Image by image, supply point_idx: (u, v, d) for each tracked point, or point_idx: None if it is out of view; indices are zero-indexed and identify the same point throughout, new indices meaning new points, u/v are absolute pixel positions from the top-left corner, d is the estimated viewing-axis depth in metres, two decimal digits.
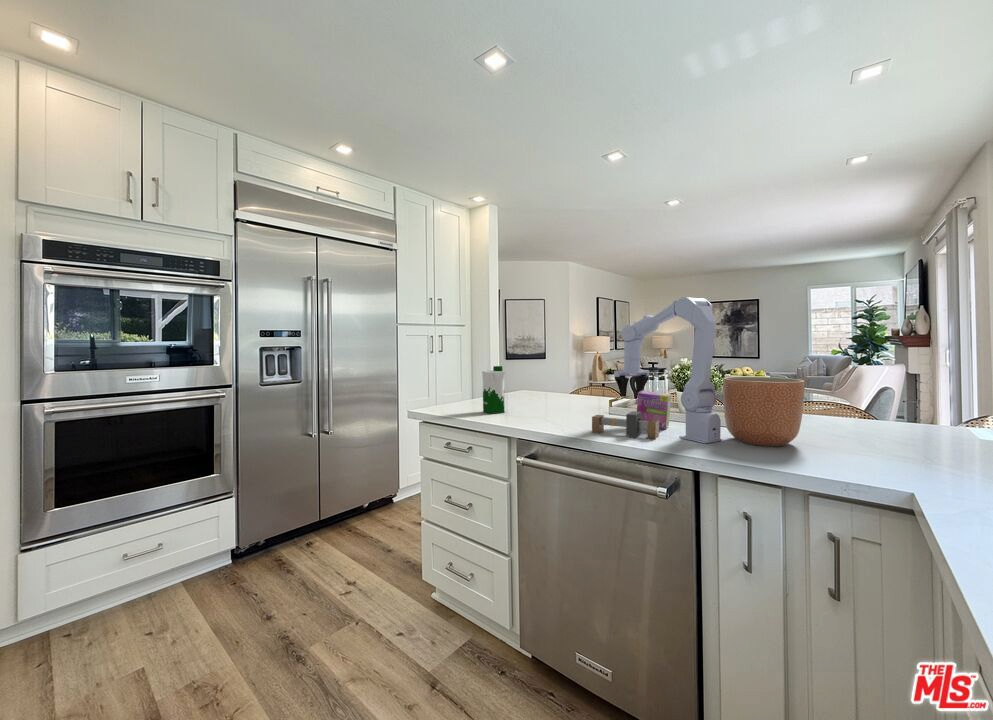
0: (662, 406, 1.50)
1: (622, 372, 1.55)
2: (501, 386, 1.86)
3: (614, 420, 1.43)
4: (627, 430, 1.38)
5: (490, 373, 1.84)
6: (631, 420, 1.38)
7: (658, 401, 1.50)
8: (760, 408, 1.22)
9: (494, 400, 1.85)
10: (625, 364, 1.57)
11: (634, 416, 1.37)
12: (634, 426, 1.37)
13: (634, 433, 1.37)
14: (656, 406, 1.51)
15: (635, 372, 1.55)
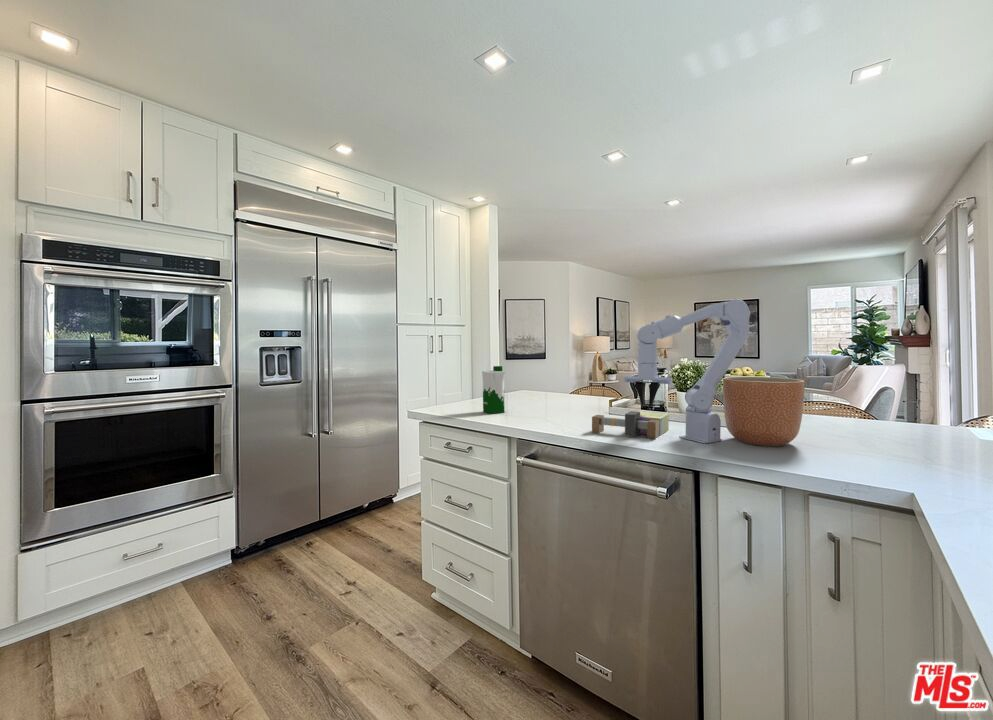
0: None
1: (629, 377, 1.40)
2: (501, 386, 1.86)
3: (614, 420, 1.43)
4: (626, 430, 1.39)
5: (490, 373, 1.84)
6: (630, 420, 1.38)
7: None
8: (760, 408, 1.22)
9: (494, 400, 1.85)
10: None
11: (633, 416, 1.37)
12: (633, 426, 1.37)
13: (633, 433, 1.37)
14: None
15: (642, 378, 1.36)
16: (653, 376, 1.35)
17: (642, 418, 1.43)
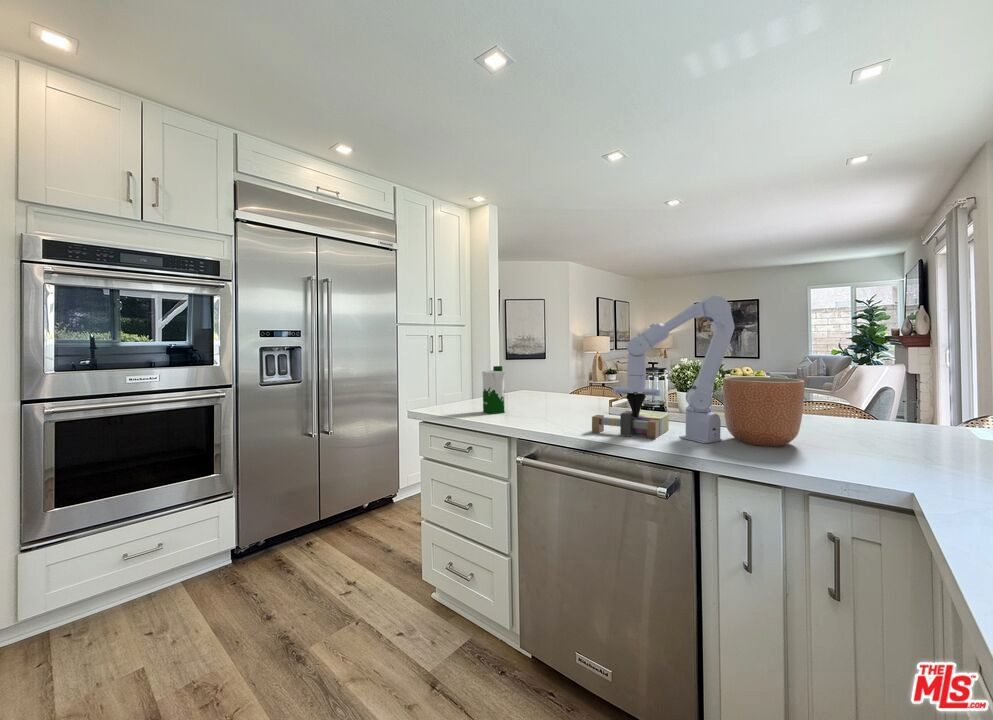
0: None
1: (618, 389, 1.42)
2: (501, 386, 1.86)
3: (614, 420, 1.43)
4: (621, 429, 1.39)
5: (490, 373, 1.84)
6: (625, 419, 1.39)
7: None
8: (760, 408, 1.22)
9: (494, 400, 1.85)
10: None
11: (628, 415, 1.38)
12: (628, 425, 1.38)
13: (628, 432, 1.38)
14: None
15: (631, 390, 1.38)
16: (642, 388, 1.37)
17: (642, 418, 1.43)
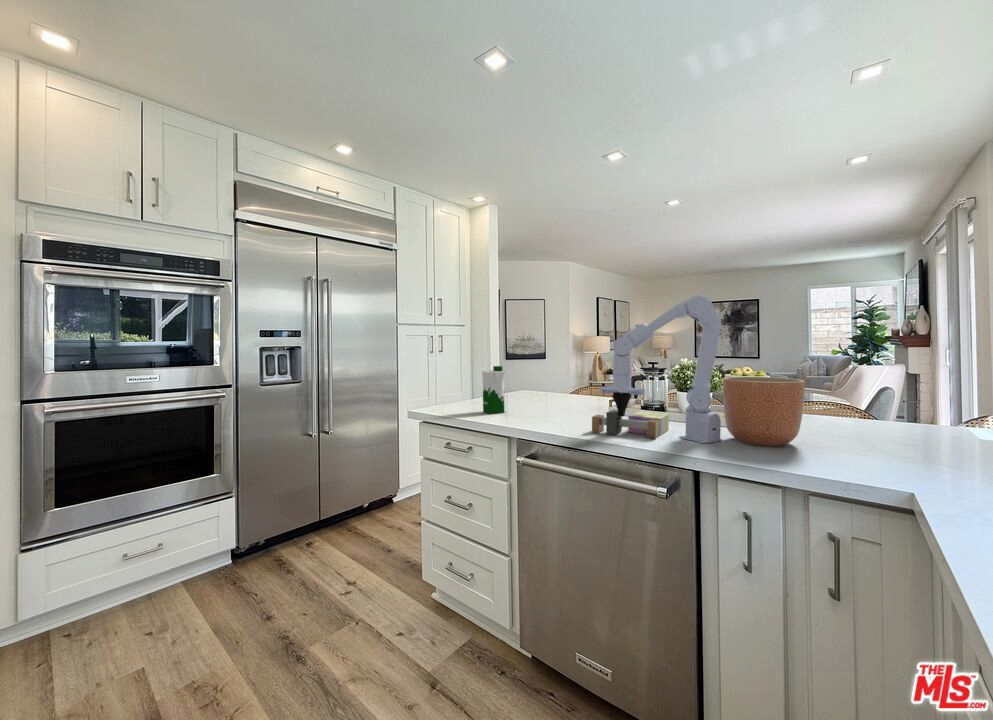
0: None
1: (604, 388, 1.44)
2: (501, 386, 1.86)
3: None
4: (607, 428, 1.42)
5: (490, 373, 1.84)
6: (611, 418, 1.41)
7: None
8: (760, 408, 1.22)
9: (494, 400, 1.85)
10: None
11: (614, 414, 1.40)
12: (614, 424, 1.40)
13: (614, 431, 1.41)
14: None
15: (616, 389, 1.40)
16: (627, 387, 1.40)
17: (642, 418, 1.43)
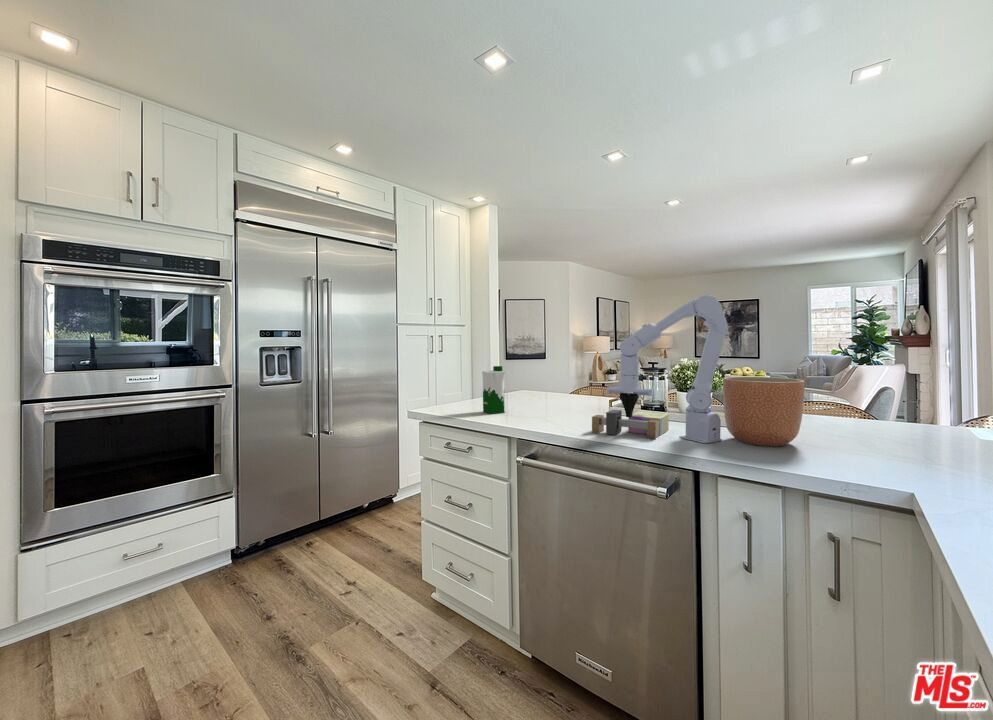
0: None
1: (611, 389, 1.43)
2: (501, 386, 1.86)
3: None
4: (607, 428, 1.42)
5: (490, 373, 1.84)
6: (611, 418, 1.41)
7: None
8: (760, 408, 1.22)
9: (494, 400, 1.85)
10: None
11: (613, 414, 1.40)
12: (613, 424, 1.41)
13: (613, 431, 1.41)
14: None
15: (624, 390, 1.39)
16: (634, 388, 1.38)
17: (642, 418, 1.43)
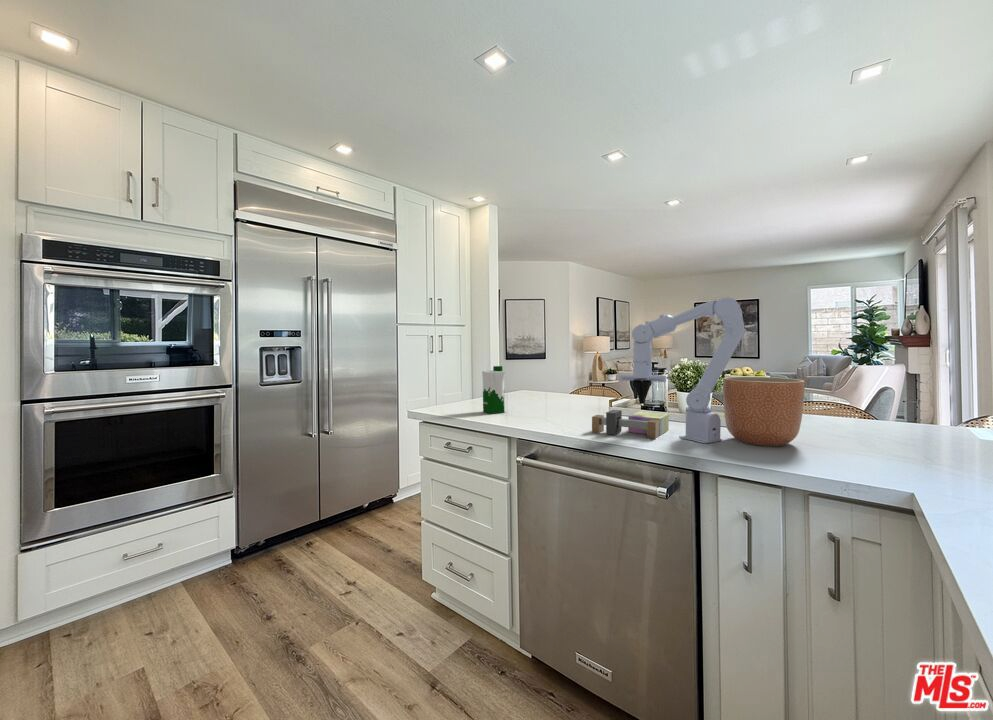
0: None
1: (625, 376, 1.44)
2: (501, 386, 1.86)
3: None
4: (607, 428, 1.42)
5: (490, 373, 1.84)
6: (611, 418, 1.41)
7: None
8: (760, 408, 1.22)
9: (494, 400, 1.85)
10: None
11: (613, 414, 1.40)
12: (613, 424, 1.41)
13: (613, 431, 1.41)
14: None
15: (637, 376, 1.41)
16: (648, 374, 1.40)
17: (642, 418, 1.43)
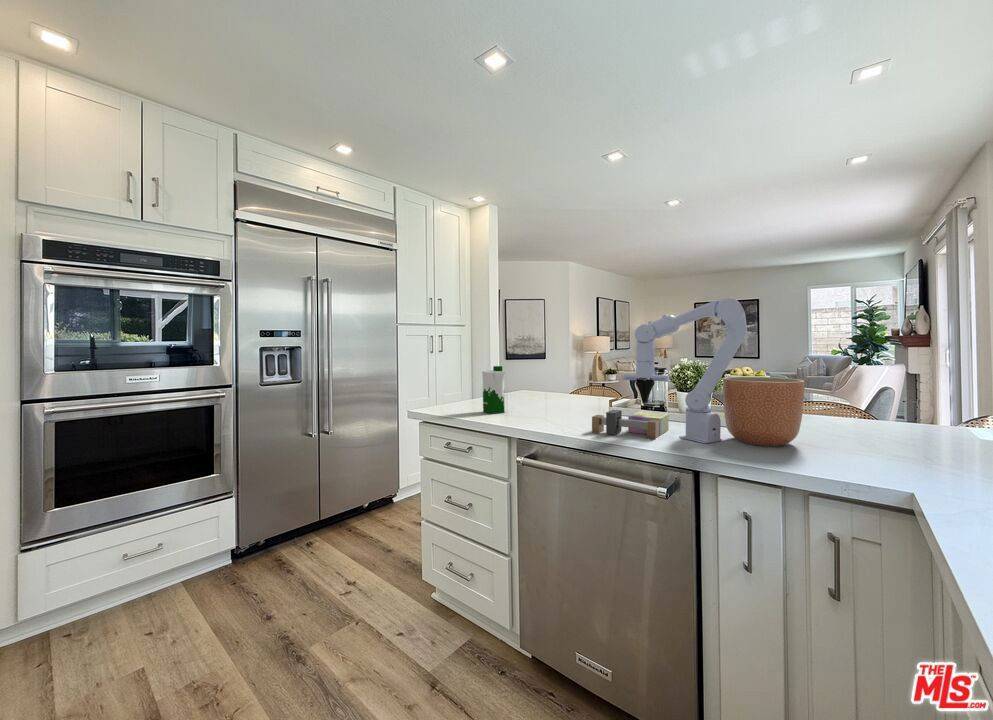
0: None
1: (627, 375, 1.45)
2: (501, 386, 1.86)
3: None
4: (607, 428, 1.42)
5: (490, 373, 1.84)
6: (611, 418, 1.41)
7: None
8: (760, 408, 1.22)
9: (494, 400, 1.85)
10: None
11: (613, 414, 1.40)
12: (613, 424, 1.41)
13: (613, 431, 1.41)
14: None
15: (640, 376, 1.41)
16: (651, 374, 1.40)
17: (642, 418, 1.43)
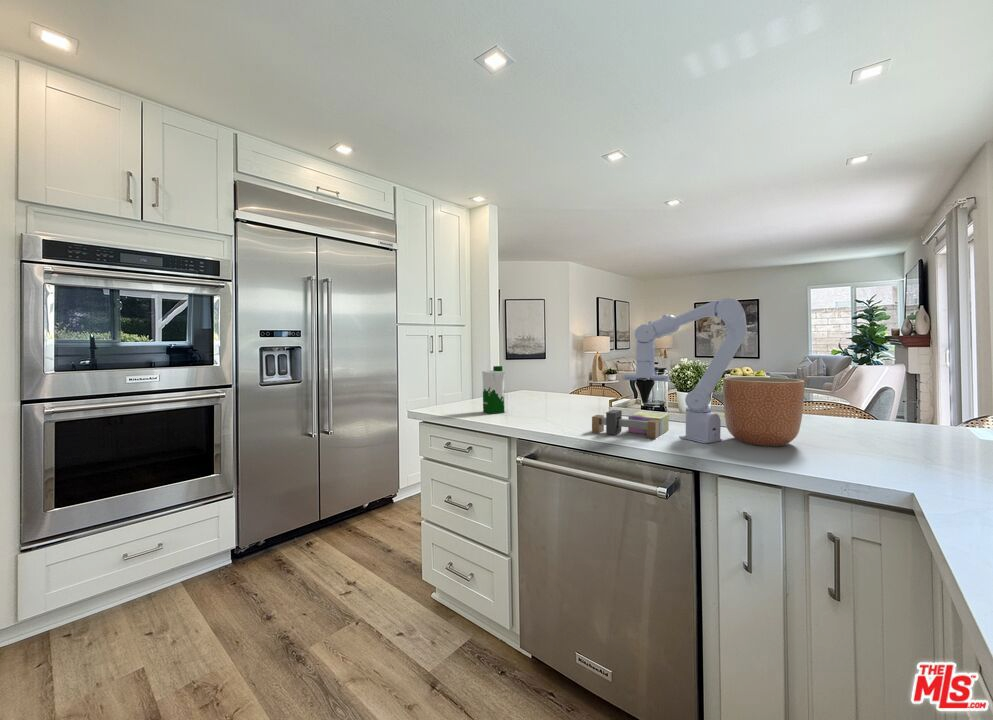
0: None
1: (627, 375, 1.45)
2: (501, 386, 1.86)
3: None
4: (607, 428, 1.42)
5: (490, 373, 1.84)
6: (611, 418, 1.41)
7: None
8: (760, 408, 1.22)
9: (494, 400, 1.85)
10: None
11: (613, 414, 1.40)
12: (613, 424, 1.41)
13: (613, 431, 1.41)
14: None
15: (640, 376, 1.41)
16: (651, 374, 1.40)
17: (642, 418, 1.43)
